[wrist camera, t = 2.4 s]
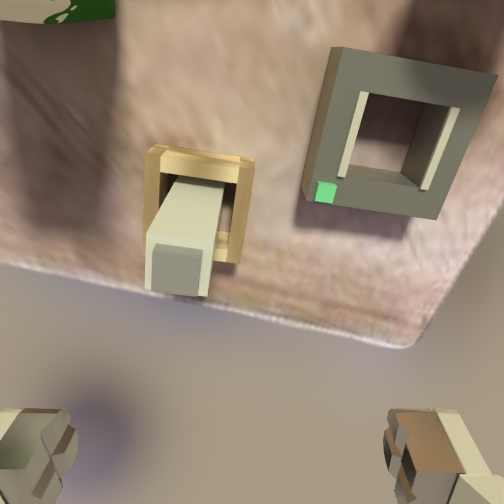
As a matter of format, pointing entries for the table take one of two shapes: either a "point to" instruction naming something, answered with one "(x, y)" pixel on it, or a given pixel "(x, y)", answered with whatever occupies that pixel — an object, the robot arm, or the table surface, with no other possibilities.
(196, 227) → the plug
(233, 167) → the holster
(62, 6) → the milk carton
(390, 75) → the frame
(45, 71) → the table surface
